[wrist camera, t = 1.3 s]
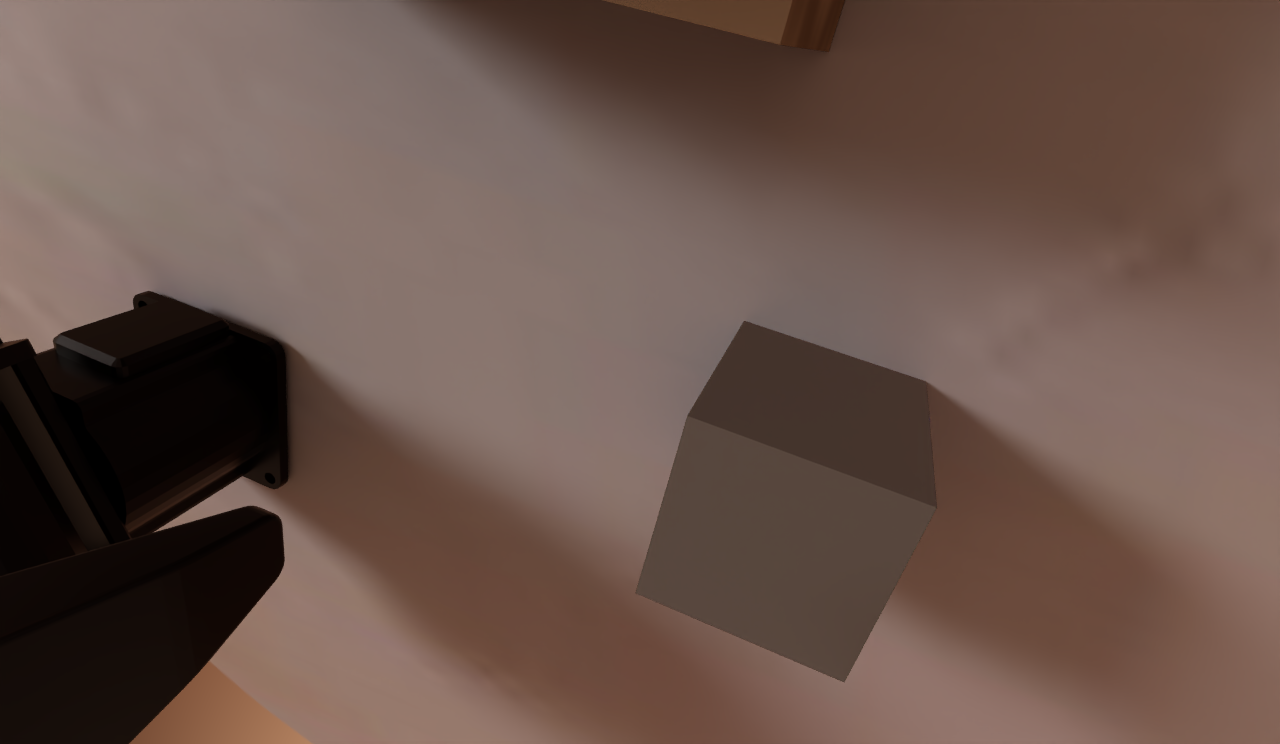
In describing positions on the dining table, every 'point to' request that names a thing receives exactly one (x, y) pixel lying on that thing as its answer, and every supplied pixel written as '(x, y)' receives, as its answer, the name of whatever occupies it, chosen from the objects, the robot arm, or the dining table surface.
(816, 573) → the taupe matte cube
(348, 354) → the dining table surface
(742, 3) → the trapdoor frame
